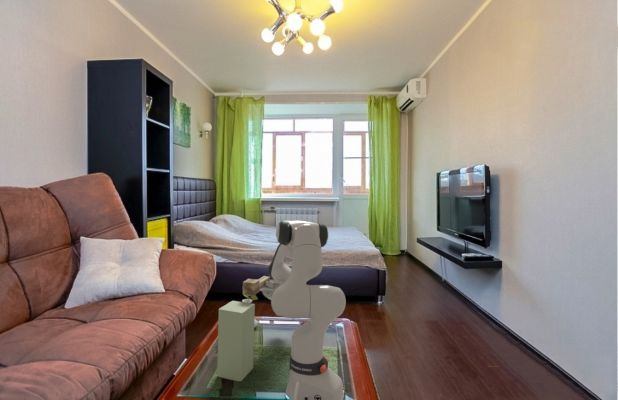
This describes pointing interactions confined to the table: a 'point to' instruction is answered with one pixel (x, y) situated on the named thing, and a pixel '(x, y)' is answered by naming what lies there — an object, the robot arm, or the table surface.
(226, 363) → the pedestal
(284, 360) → the table surface
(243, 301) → the flower in vase
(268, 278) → the block
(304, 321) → the video game controller
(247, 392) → the table surface
